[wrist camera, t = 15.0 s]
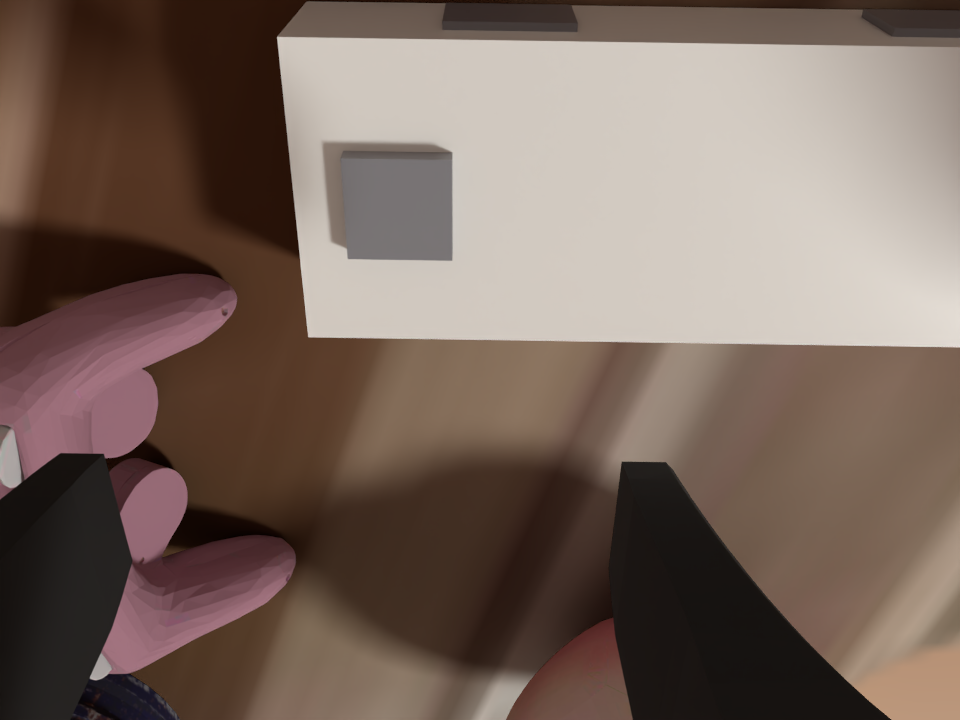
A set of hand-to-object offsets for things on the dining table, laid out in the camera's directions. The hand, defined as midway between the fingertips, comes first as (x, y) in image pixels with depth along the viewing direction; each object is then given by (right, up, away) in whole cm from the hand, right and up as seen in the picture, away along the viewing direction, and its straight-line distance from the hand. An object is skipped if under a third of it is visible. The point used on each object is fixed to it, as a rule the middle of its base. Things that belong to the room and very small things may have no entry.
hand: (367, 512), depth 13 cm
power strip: (+6, +7, +7) cm, 11 cm away
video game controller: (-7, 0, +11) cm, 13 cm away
